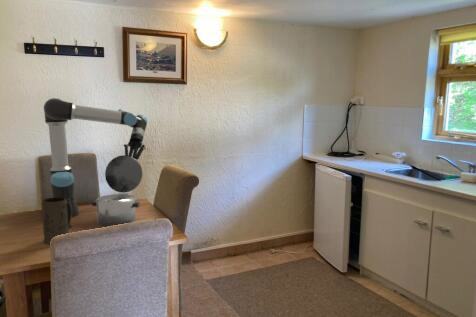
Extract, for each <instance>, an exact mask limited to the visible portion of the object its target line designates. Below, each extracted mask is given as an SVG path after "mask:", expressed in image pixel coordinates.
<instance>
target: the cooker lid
mask: <svg viewBox="0 0 476 317" xmlns="http://www.w3.org/2000/svg"><path fill="white" fill-rule="evenodd" d="M104 178H105V181H106V183H107V185H108V187H109V188H111V189H112V190H113V191H115V192H118V193H123V194H125V193H129V192H132V191H134V190H135V189H137V187H138V186H139V185H140V184H141V182H142V180H143V168H142V165H141V164H140V162H139V161H138V160H137V159H134V158H133V157H130V156H125V154H124V155H122V154H121V155H118V156H116V157H114V158H112V159H111V160H110V161H109V162H108V163H107V165H106V168H105V171H104Z"/></svg>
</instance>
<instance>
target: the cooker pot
mask: <svg viewBox="0 0 476 317" xmlns="http://www.w3.org/2000/svg"><path fill="white" fill-rule="evenodd" d="M140 203H141V202H140V201H136V197H135V196H134V195H132V194H129V193H122V192H118V193H116V194H115V193H114V194H106V195H102V196H99V197H97V198H96V199H95V200H93V201H92V203H91V204H92V207H96V222H97V224H98V225H99V226H100V225H101V226H104V227H105V226H106V227H112V226H111V225H118V224H124V223H129V224H131V223H130V222H132V223H134V222H135V221H136V218H137V215H136V213H137V212H136V208H140V206H141V204H140Z"/></svg>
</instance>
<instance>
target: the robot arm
mask: <svg viewBox="0 0 476 317" xmlns="http://www.w3.org/2000/svg"><path fill="white" fill-rule="evenodd" d="M43 112H44V113H43V114H44V121H45V122H44V123H45V124H47V126H48V131H49V132H48V134H49V144H50V154H51V164H52V165H51V166H52V167H50V169H49V173H50V174H49V175H50V176H49V177H50V184H51V185H50V186H51V188H50V189H51V198H53V197H63V198H65V199H70V201H71V205H72V209H73V212H72V217H76V216H77V215H79V214H80V210H79V207H78V204H77V202H76V197H75V196H76V195H75V177H74V174H73V171H72V170H73V169H72V168H73V167H72V166H70V165H69V157H68V155H69V154H68V142H67V133H66V131H67V130H66V124H67V123H68V121H72V120H73V119H74V120H81V121H82V120H84V121H91V122H99V123H107V124H116V125H121V126H128V127H130V128H132V131H131V134H130V137H129V141H128V143H127V144H126V143H125V144H123V147H124V155H125V156H130V157H133V158H134V159H136V160H137V161H138V160H139V159H140V158H141V155H142V153H143V152H144V150H145V149H146V146H145V144H143V141H144V137H145V133H146V128H147V126H148V117H147V116H146V115H145V114H135V113H133V112H128V111H125V110H124V109H121V108H119V109H118V110H113V109H106V108H105V109H104V108H101V107H100V108H98V107H91V106H84V105H78V104H77V105H76V104H74V103H73V102H69V101H65V100H62V99H60V98H55V97H53V98H50V99H48V100H47V101H45V103H44V105H43ZM66 210H67V215H68V207H67V205H66Z"/></svg>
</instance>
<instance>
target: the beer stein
mask: <svg viewBox="0 0 476 317" xmlns="http://www.w3.org/2000/svg"><path fill="white" fill-rule="evenodd" d="M41 205H42V226H43V227H42V228H43V229H42V230H43V237H44V238H43V242H44V243H45V244H46V245H47V244H48V245H51V244H50V241H51V239H52V238H53V237H55V236H57V235H61V234H66V233H68V234H70V233H69V232H70V229H72V228H73V225H72V224H71V221H72V212H73V209H72V205H71V201H70V199H65V198H63V197H53V198H52V197H48V198H44V199H42V203H41ZM66 205H67V207H68V215H67V210H66Z"/></svg>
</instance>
